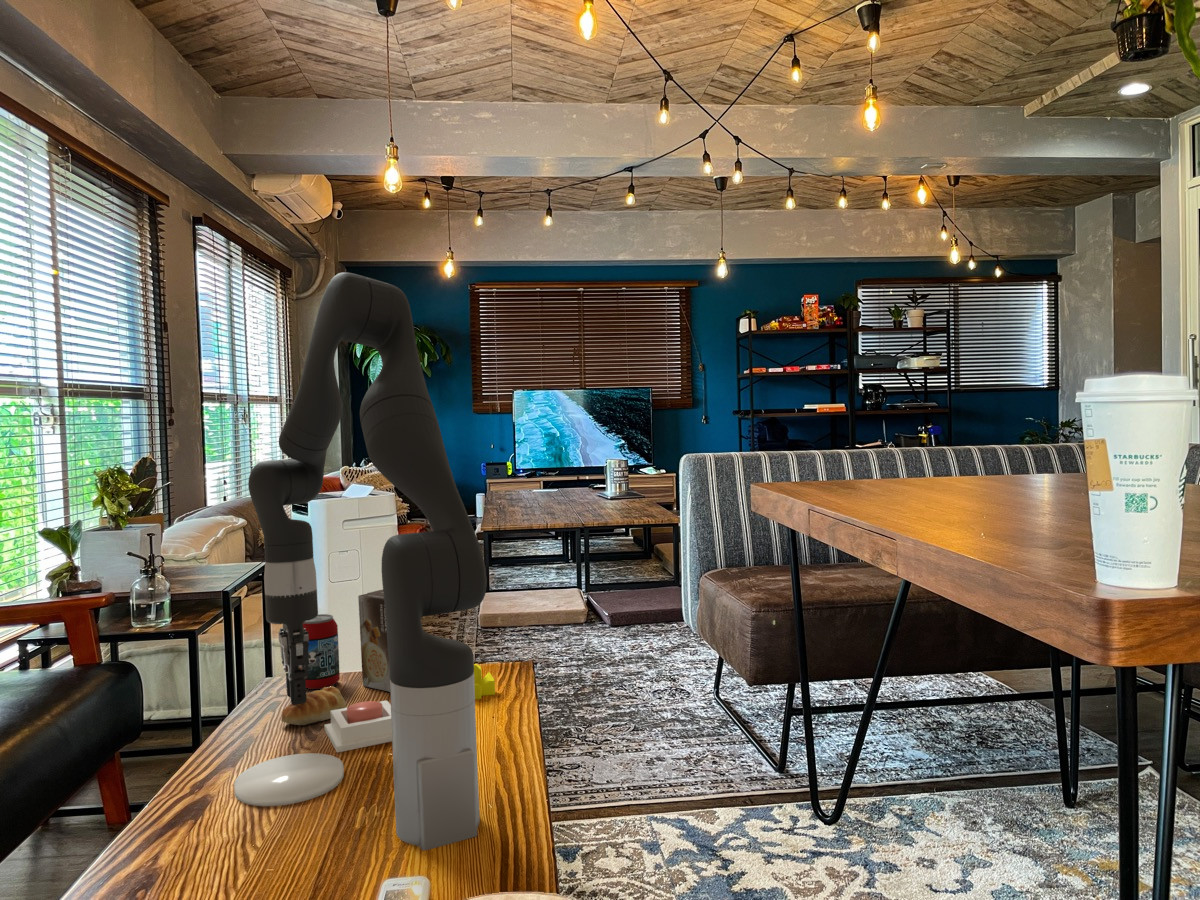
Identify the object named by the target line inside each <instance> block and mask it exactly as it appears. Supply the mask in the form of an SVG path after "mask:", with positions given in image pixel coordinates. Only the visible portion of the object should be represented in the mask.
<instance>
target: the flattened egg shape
mask: <svg viewBox="0 0 1200 900" xmlns="http://www.w3.org/2000/svg"><path fill="white" fill-rule="evenodd" d="M344 774H345V773H344V762H343V761H342V760H341V759H340V758H338V757H336V756H335V755H334V756H333V755H330V754H327V753H318V752H317V753H314V752H313V753H312V752H309V753H308V752H307V753H296V754H290V755H289V754H288V755H283V756H279V757H278V756H277V757H274V758H271V759H267V760H264V761H262V762H259V763H256V764H255V765H253V766H251V767H248V768H247V769H245V770H244V771H242V772H241V773H240V774H239V775H238V776H237V777H236V778H235V780H234V784H233V785H234V787H233V788H234V796H235V798H236V799H237V800H238V801H239V802H241V803H243V804H246V805H249V806H256V807H257V806H258V807H279V806H287V805H293V804H297V803H298V804H299V803H301V802H302V803H303V802H305V801H310V800H312V799H315V798H318V797H319V796H322V795H325V794H327V793H329V792H330V791H332V790H333V789H335V788H336V787H338V786H339V785H340V784H341V782H342V781H343V780H342V779H344ZM339 783H340V784H339ZM338 784H339V785H338Z"/></svg>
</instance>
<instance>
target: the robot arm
mask: <svg viewBox="0 0 1200 900" xmlns="http://www.w3.org/2000/svg"><path fill="white" fill-rule="evenodd" d="M311 333H312V334H311V338H310V341H309V345H308V349H307V354H306V357H305V361H304V366H303V370H302V375H301V378H300V382H299V387H298V389H297V393H296V395H295V398H294V401H293V403H292V404H291V407H290V410H289V413H288V414H287V417H286V419H285V422H284V424H283V426H282V429H281V431H280V434H279V437H278V446H279V448H280V451H281V452H283V454H284V455H286V456H287V457H288V458H290V459H288V458H287V459H272V460H263V461H260V462H258V463H257V464H256V465H254V466H253V468H252V469H251V471H250V473H249V476H248V483H247V484H248V485H247V487H248V492H249V496H250V499H251V501H252V504H253V508H254V511H255V512H256V516H257V519H258V522H259V525H260V527H261V531H262V534H263V547H264V573H263V574H264V575H263V580H264V582H263V583H264V600H265V601H264V603H265V619H266V622H267V623H269V624H273V625H282V627H280V628H279V631H278V634H277V635H278V641H279V647H280V657H281V664H282V665H283V671H284V673H285V681H286V682H285V683H286V686H285V687H286V695H287V697H288V698H290V704H291V703H292V705H298V704H303V703H305V702H306V700H307V699H306V693H307V689H306V679H305V678H307V677H308V674H309V671H308V660H309V656H308V647H309V643H308V642H309V636H308V631H307V632H306V629H305V628H304V629H303V622H305V621H306V620H312V619H314V618H315V617H317V615H319V607H318V606H319V604H318V603H319V601H318V588H317V587H318V585H317V570H316V565H315V558H314V542H313V540H314V539H313V538H314V537H313V528H312V526H311V524H310V522H308V521H305V520H302V519H301V520H300V519H292V518H290V517H289V516H288V514H287V512H286V510H285V507H284V506H290V505H291V506H292V505H301V504H307V503H309V502H312V501H313V500H314V499H315V498H316V497H318V495H319V494H320V493H321V491H322V487H323V484H324V473H325V465H326V457H327V451H328V448H329V447H330V445H331V442H332V440H333V438H334V436H335V434H336V431H337V429H338V427H339V425H340V421H341V418H342V411H343V401H342V397H341V391H340V387H339V384H338V379H337V376H336V370H335V369H336V368H335V356H336V353H337V350H338V347H339V345H340V343H341V342H342V341H343V342H347V343H353V344H356V345H360V346H361V345H362V346H365V347H370V348H374V350H376V351H377V352H378V354H379V355H380V359H381V364H382V367H381V369H380V371H379V373H378V375H377V376H376V378H374V381H373V382H372V383H371V384H370V385H369V387H368V389H367V390H366V392H365V394H364V397H363V398H362V401H361V404H360V408H359V419H360V426H361V429H362V433H363V434H362V435H363V439H364V442H365V443H364V444H365V448H366V451H367V455H368V457H369V459H370V461H371V462H372V464H373V466H374V467H375V469H376V470H377V471H378V472H379V473H380V474H381V475H382V476H383V477H384V478H385V479H386V480H387V481H388V482H389V483H391V484H392V485H393V486H394V487H395V488H396V489H398V491H400V492H401V493H402V494H403V495H404V496H406V497H407V498H408V499H409V500H410V501H412V503H414V504H415V506H417V507H418V508H419V510H420V511H421V512H422V514H423V515H424V516H425V518H426V520H427V521H428V523H429V525H430V527H431V529H432V530H431V531H421V532H412V533H411V532H410V533H402V534H395V535H393V536H392V535H391V537H389V538H388V539H387V540H386V542H385V544H384V546H383V548H382V556H381V582H382V584H381V585H382V590H383V594H384V603H385V613H386V625H387V643H388V655H389V667H390V692H389V693H390V705H391V722H392V741H391V744H392V745H391V746H392V763H393V764H392V768H393V787H394V788H393V792H394V794H393V795H394V808H395V809H394V810H395V811H394V812H395V814H394V815H395V830H396V831H395V832H396V834H395V835H396V836H397V837H398V839H399V838H400V839H399V840H400V841H402V842H403V841H404V842H403V843H405V842H406V844H408V843H409V844H408V845H411V844H412V846H415V845H416V846H415V847H419V848H420V850H421V851H422V852H423V851H428V850H432V849H435V848H439V847H442V846H447V845H450V844H454V843H458V842H461V841H465V840H468V839H473V838H475V837H478V827H479V826H480V821H481V820H480V818H481V817H480V797H479V795H480V794H479V791H480V790H479V772H478V769H479V768H478V747H477V746H478V745H477V723H476V722H477V721H476V719H477V717H476V699H475V687H474V664H475V661H474V660H475V659H474V653H473V649H472V647H470V646H469V645H468V644H466V643H464V642H463V641H460V640H455V639H451V638H447V637H441V636H437V635H434V634H431V633H429V632H427V631H425V630H424V628H423V625H422V617H431V616H437V615H442V614H443V615H444V614H449V613H457V612H463V611H467V610H471V609H475V608H476V607H478V606H479V605H481V604H482V602H483V600H484V598H485V596H486V594H487V593H486V592H487V587H488V586H487V582H488V581H487V580H488V578H487V569H486V564H485V560H484V556H483V552H482V549H481V546H480V542H479V540H478V536H477V535H476V531H475V529H474V527H473V524H472V521H471V520H470V517H469V515H468V512H467V510H466V507H465V505H464V502H463V500H462V497H461V495H460V492H459V489H458V488H457V485H456V481H455V478H454V476H453V472H452V468H451V467H450V463H449V459H448V456H447V452H446V449H445V444H444V440H443V437H442V431H441V428H440V425H439V421H438V418H437V414H436V411H435V408H434V405H433V402H432V400H431V397H430V394H429V392H428V388H427V384H426V379H425V376H424V372H423V368H422V365H421V361H420V356H419V352H418V351H419V350H418V348H417V341H416V340H417V339H416V335H415V328H414V322H413V316H412V311H411V307H410V303H409V300H408V297H407V295H406V294H405V292H404V291H403V290H402V289H401V288H399V287H397V286H396V285H394V284H390V283H388V282H384V281H381V280H378V279H375V278H372V277H367V276H364V275H360V274H357V273H352V272H349V271H347V272H346V271H345V272H339V273H337V274H336V275H334V276H333V277H332V278H331V280H330V282H328V284H327V286H326V288H325V291H324V293H323V295H322V297H321V301H320V304H319V308H318V310H317V315H316V318H315V322H314V326H313V329H312V332H311ZM301 667H302V670H301Z"/></svg>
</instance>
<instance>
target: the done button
mask: <svg viewBox="0 0 1200 900" xmlns="http://www.w3.org/2000/svg"><path fill="white" fill-rule="evenodd" d="M346 708H347V722H348V724H351V723H356V722H361V721H366V720H371V719H377V718H382V717H383V710H382V703H380V701H374V700H373V701H372V700H368V701H367V700H366V701H361V702H356V703H353V704H350V705H349V706H347V707H346Z"/></svg>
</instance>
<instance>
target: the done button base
mask: <svg viewBox="0 0 1200 900" xmlns="http://www.w3.org/2000/svg"><path fill="white" fill-rule="evenodd" d="M379 702H380V703H382V710H383V717H382V718H377V719H371V720H366V721H361V722H356V723H351V724H348V722H347V708H348V707H346V708H342V709H337V710H331V711H330V715H331V718H330V723H326V724H323V725H324V731H326V732H325V733H326V735H327V737H328V739H329V741H330V743H331V744H332V746H333V748H334V749H335V751H336V753H337V754H338V753H343V752H346V751H351V750H356V749H361V748H365V747H371V746H376V745H381V744H385V743H390V742H391V743H392V722H391V702H389V701H388V700H382V701H381V700H380V701H379Z"/></svg>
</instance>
